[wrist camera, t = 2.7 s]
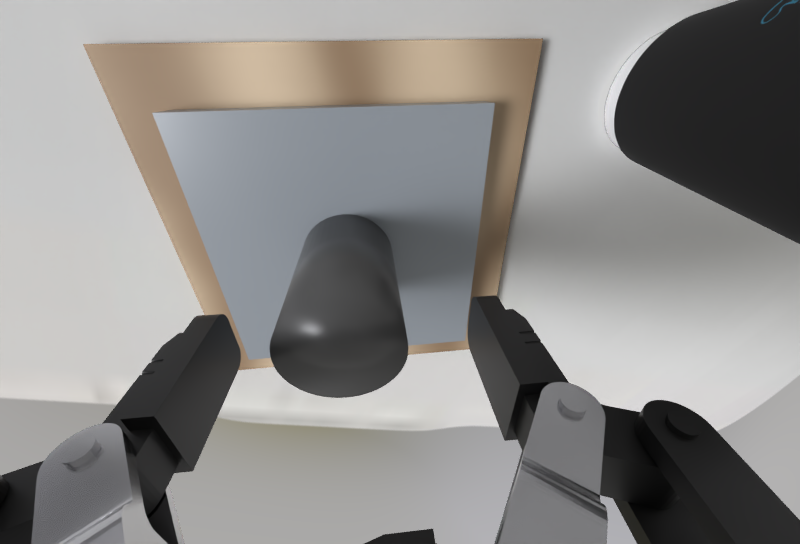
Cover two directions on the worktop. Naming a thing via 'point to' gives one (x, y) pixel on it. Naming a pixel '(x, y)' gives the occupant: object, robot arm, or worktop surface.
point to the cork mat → (317, 86)
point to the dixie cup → (719, 109)
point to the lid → (337, 228)
